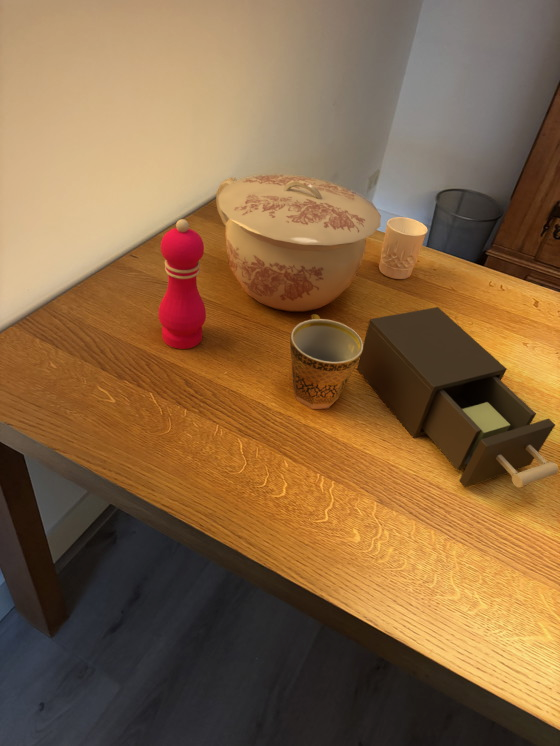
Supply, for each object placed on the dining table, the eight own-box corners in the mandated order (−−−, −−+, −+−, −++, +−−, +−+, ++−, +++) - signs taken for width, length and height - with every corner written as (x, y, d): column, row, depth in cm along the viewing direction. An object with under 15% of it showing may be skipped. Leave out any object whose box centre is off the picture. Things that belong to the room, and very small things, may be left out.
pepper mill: (192, 356, 84) (194, 237, 71) (150, 342, 85) (145, 223, 72) (212, 332, 89) (218, 216, 76) (173, 319, 90) (171, 204, 77)
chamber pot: (383, 329, 95) (415, 218, 82) (228, 338, 88) (236, 218, 75) (333, 251, 115) (352, 152, 102) (203, 253, 108) (206, 147, 95)
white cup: (410, 285, 108) (425, 239, 102) (372, 274, 110) (384, 228, 103) (415, 267, 114) (429, 223, 108) (379, 258, 116) (391, 213, 109)
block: (476, 425, 76) (487, 401, 73) (497, 448, 73) (510, 424, 70) (450, 432, 74) (461, 409, 72) (472, 456, 72) (484, 432, 69)
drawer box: (482, 418, 80) (507, 368, 74) (413, 438, 76) (433, 387, 69) (420, 354, 91) (437, 306, 85) (356, 368, 86) (370, 318, 80)
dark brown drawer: (556, 491, 70) (584, 451, 65) (489, 517, 66) (514, 476, 61) (461, 394, 83) (479, 354, 78) (400, 411, 78) (415, 369, 73)
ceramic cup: (356, 416, 78) (372, 362, 71) (288, 419, 76) (298, 363, 69) (334, 359, 87) (347, 306, 81) (273, 360, 85) (281, 306, 79)
